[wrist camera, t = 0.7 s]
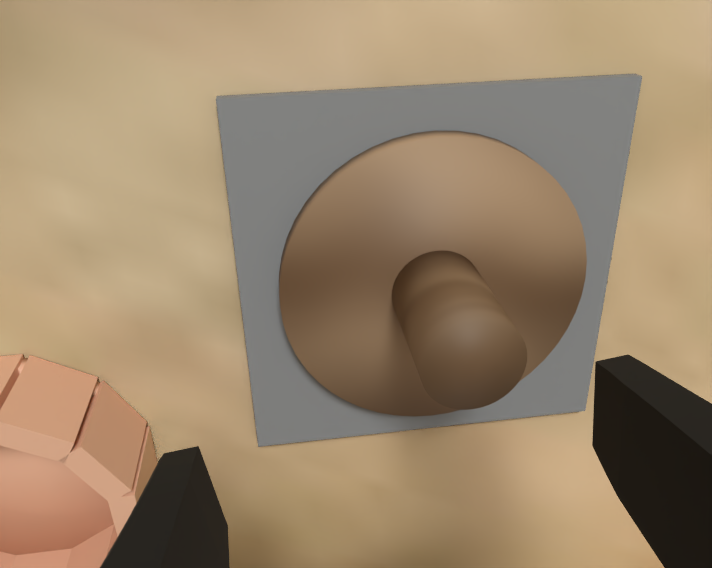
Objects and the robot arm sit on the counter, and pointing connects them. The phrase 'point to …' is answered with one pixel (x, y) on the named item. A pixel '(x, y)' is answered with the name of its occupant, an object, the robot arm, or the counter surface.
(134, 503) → the bowl
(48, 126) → the counter surface
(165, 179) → the counter surface
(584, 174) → the mat
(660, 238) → the counter surface
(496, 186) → the lid
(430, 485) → the counter surface
